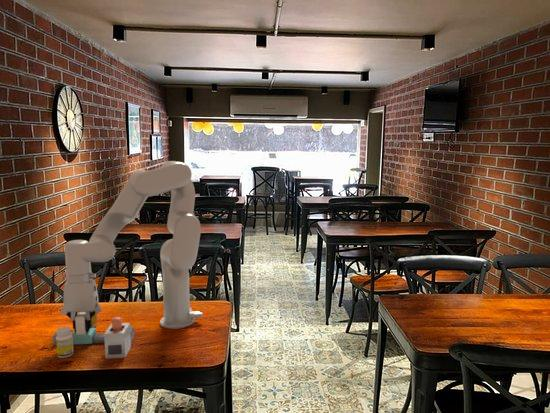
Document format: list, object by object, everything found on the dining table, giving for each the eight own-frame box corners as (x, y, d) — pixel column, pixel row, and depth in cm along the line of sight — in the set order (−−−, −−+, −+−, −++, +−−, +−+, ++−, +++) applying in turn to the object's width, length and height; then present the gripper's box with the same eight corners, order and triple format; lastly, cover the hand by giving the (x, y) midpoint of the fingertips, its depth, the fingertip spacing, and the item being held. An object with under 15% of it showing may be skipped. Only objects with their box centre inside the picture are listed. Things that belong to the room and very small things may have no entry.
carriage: (96, 336, 150) (95, 311, 149) (91, 343, 145) (89, 317, 143) (75, 337, 150) (73, 312, 148) (69, 344, 144) (67, 318, 143)
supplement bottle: (60, 351, 140) (58, 326, 139) (75, 350, 141) (74, 325, 140) (54, 358, 136) (52, 332, 134) (70, 357, 136) (68, 332, 135)
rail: (134, 336, 151) (133, 326, 151) (131, 342, 146) (130, 332, 146) (59, 339, 149) (58, 329, 148) (53, 346, 144) (52, 335, 143)
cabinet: (131, 345, 144) (129, 322, 143) (125, 357, 136) (123, 333, 135) (112, 346, 143) (111, 323, 142) (105, 358, 135) (103, 334, 134)
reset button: (123, 328, 140) (122, 316, 140) (121, 332, 137) (120, 320, 137) (113, 328, 140) (113, 316, 139) (111, 332, 137) (110, 320, 136)
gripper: (107, 273, 149) (110, 324, 151) (57, 275, 147) (61, 326, 149) (101, 280, 141) (104, 334, 144) (48, 281, 140) (52, 336, 142)
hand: (82, 329), depth 147 cm, fingers closed on carriage, 2 cm apart
